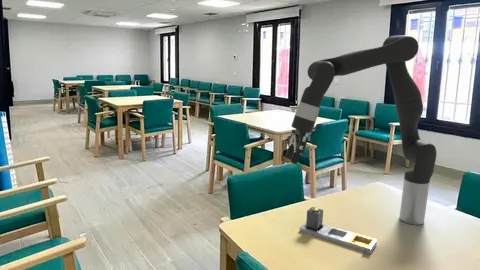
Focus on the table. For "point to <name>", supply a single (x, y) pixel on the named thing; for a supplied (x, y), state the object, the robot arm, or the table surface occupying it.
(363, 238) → the white slotted tray
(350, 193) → the table surface
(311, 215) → the dark gray block
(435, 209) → the table surface
